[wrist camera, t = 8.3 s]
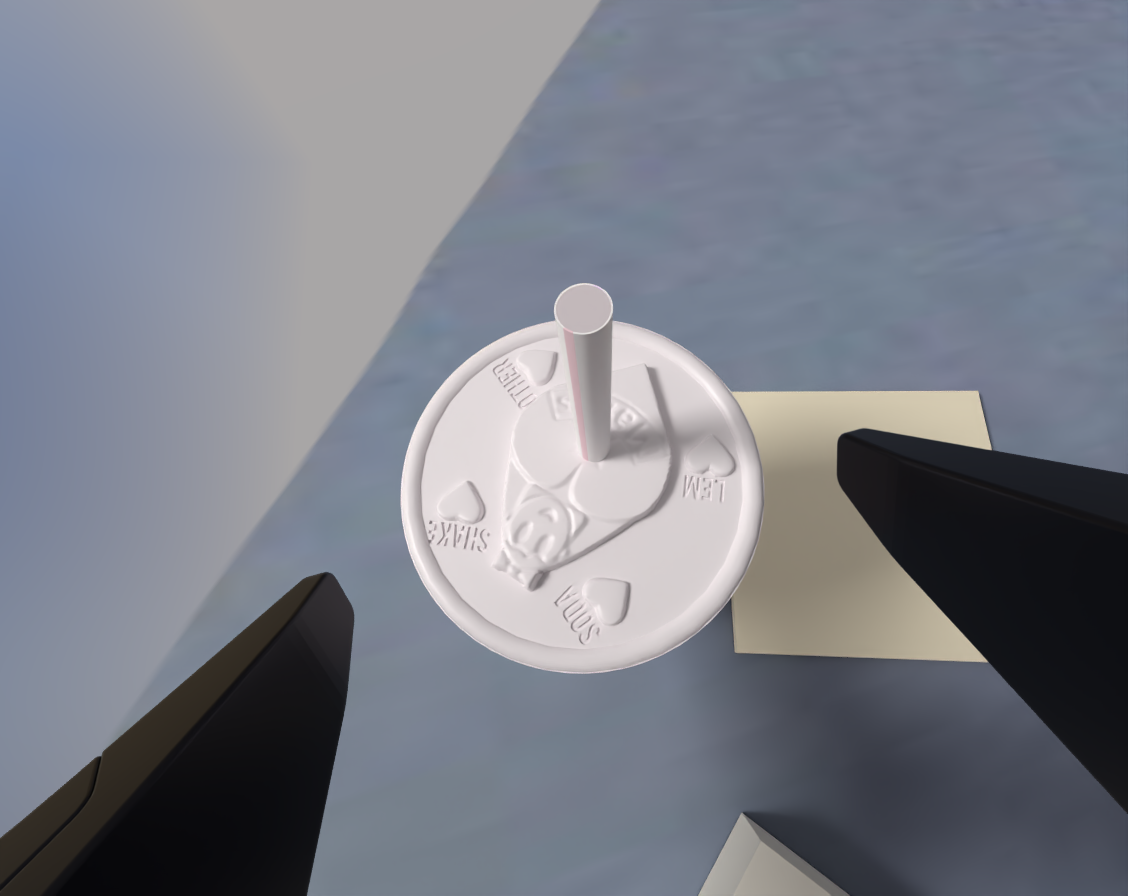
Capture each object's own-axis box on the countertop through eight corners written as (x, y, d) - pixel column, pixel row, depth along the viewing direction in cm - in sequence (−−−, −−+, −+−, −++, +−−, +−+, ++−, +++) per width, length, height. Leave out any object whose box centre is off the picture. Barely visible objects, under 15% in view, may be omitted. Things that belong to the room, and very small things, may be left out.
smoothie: (718, 516, 18) (1035, 236, 5) (625, 685, 17) (704, 974, 3) (563, 428, 19) (469, 26, 6) (466, 576, 18) (69, 471, 5)
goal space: (1034, 663, 16) (1042, 664, 16) (734, 651, 17) (737, 653, 16) (972, 394, 19) (977, 390, 18) (717, 395, 19) (719, 391, 19)
